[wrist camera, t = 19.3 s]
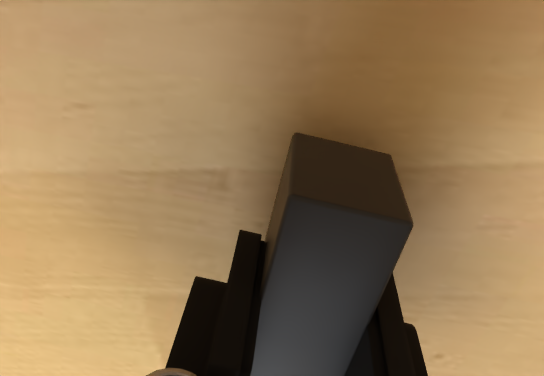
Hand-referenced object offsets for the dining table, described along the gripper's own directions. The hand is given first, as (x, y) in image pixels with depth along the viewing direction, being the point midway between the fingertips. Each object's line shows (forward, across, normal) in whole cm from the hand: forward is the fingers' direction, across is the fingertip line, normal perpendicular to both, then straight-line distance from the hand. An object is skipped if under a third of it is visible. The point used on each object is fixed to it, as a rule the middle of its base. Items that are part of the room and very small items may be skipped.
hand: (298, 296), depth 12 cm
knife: (+1, 0, +5) cm, 5 cm away
